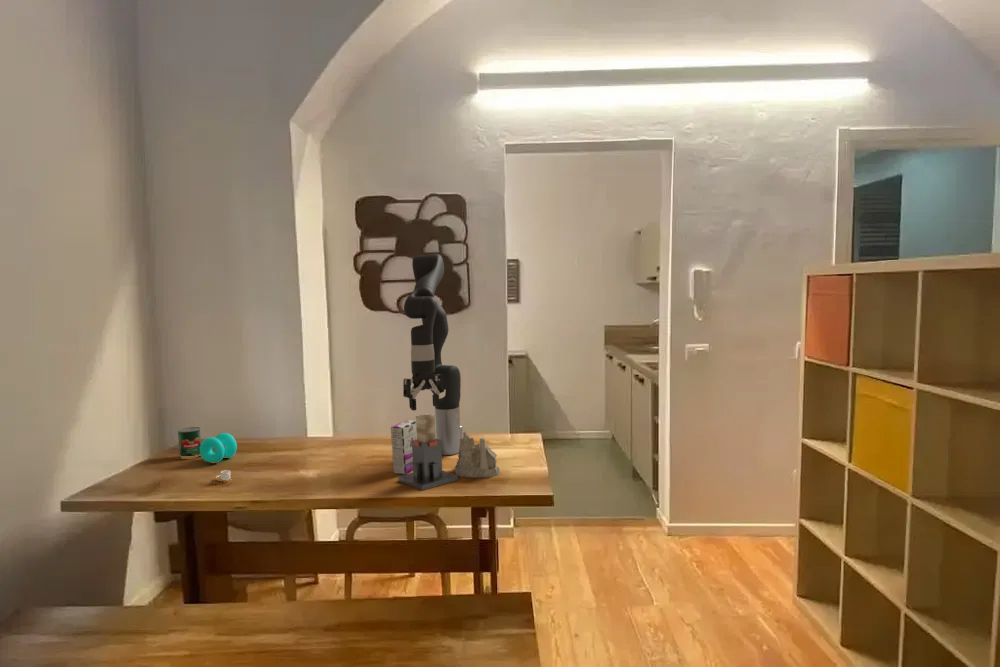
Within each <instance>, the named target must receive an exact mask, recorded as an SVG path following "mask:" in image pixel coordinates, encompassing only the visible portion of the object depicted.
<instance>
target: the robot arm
mask: <svg viewBox="0 0 1000 667" xmlns="http://www.w3.org/2000/svg"><path fill="white" fill-rule="evenodd" d="M411 263H412V264H411V265H412V271H413V276H414V277H413V278H414V281H415V285H414V288H413V291H412V292H411V293H410V294H409V295H408V296H407V298H405V301H404V304H403V312H404V315H405V316H406V317H407V318H409V319H413V320H414V319H415V320H417V319H421V323H422V324H419V325H416V326H412V328H410V341H411V343H410V345H411V347H410V364H411V373H412V374H411V378H403V392H402V393H403V395H402V396H403V397H404V398H407V399H408V400H409V404H408V405H409V409H410V410H411V411H417V399H416V398H417V395H419V393H420V392H421V391H425V390H427V391H428V390H430V392H431V393H432V406H433V407H434V414H435V433H436V439H440V440H441V453H442V456H443V455H444V456H451V455H458V454H459V446H460V440H459V439H460V438H463V432H464V431H463V426H462V425H461V416H460V413H461V412H460V401H461V386H462V385H461V382H462V380H461V379H462V378H461V372H460V368H458V366H456V365H452V364H451V365H449V364H443V362H442V351H443V350H442V349H443V346H444V344H445V342H446V340H447V337H448V334H449V323H448V316H447V313H446V311H445V309H444V308H443V306H442V305H441V304H440V303H439V302H438V301H437V299H436V298H435V293H436V289H437V287H438V286H439V284H440V282H441V281H442V279H443V277H444V275H445V265H444V264H445V263H444V260H443V256H441V255H440V254H438V253H429V254H421V255H415V256H413V258H412V262H411ZM412 384H413V385H412ZM411 386H412V387H411ZM444 392H445V393H444ZM442 393H444V394H445V395H444V396H443V397H440V395H441V394H442Z"/></svg>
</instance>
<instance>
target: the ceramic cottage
mask: <svg viewBox="0 0 1000 667" xmlns="http://www.w3.org/2000/svg"><path fill="white" fill-rule="evenodd" d="M462 432H463V438H460V439H459V440H460V446H459V453H458V454H457V457H458V459H457V462H456V464H455V466H454V467H455V468H454V470H455V472H454V473H455V475H457V476H458V477H464V478H494V477H498V476H500V473H501V472H500V467H499V466H497V459H496V458H497V453H496V452H494V451H493V450H492V448H491V447H489V445H488V444H487V443H486V440H485V438H484V437H480V438H479V443H477V444H475V440H474V437H470V435H469V434H467V432H466V431H462ZM493 476H494V477H493Z"/></svg>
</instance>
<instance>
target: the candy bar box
mask: <svg viewBox="0 0 1000 667" xmlns="http://www.w3.org/2000/svg"><path fill="white" fill-rule="evenodd" d="M390 434H391V446H392V448H391V449H392V451H391V453H392V467H393V474H396V475H406V474H410V472H413V456H412V440H415V439H417V431H416V419H414V420H413V419H411V420H410V419H405V420H404V421H402V422H399V423H397V424H395V425H393V426H391V427H390Z"/></svg>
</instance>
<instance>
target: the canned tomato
mask: <svg viewBox="0 0 1000 667" xmlns="http://www.w3.org/2000/svg"><path fill="white" fill-rule="evenodd" d="M177 436H178V437H177V438H178V451H179V456H180V455H181V456H195V455H199V454H200V446H201V443H202V438H201V437H202V436H201V427H200V426H189V427H184V428H180V429H178V430H177Z"/></svg>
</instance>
